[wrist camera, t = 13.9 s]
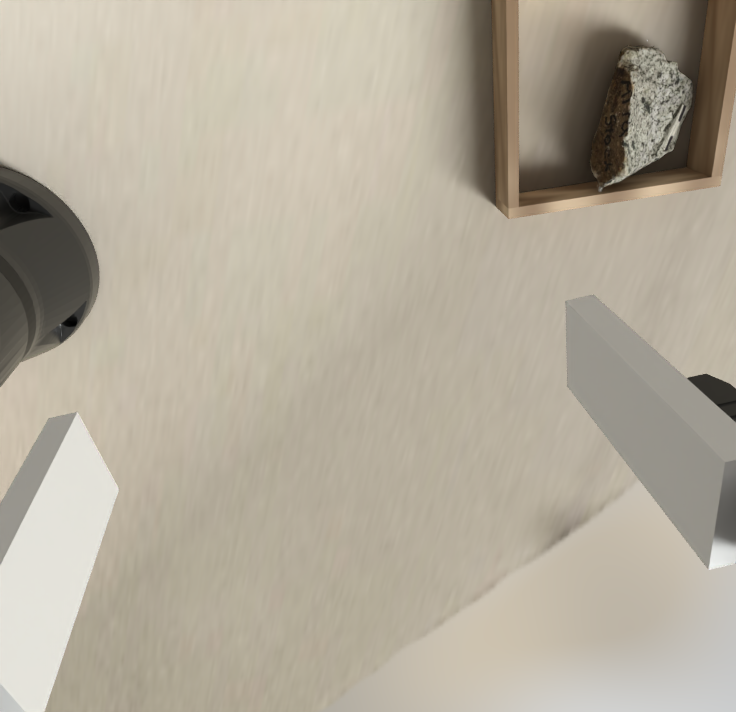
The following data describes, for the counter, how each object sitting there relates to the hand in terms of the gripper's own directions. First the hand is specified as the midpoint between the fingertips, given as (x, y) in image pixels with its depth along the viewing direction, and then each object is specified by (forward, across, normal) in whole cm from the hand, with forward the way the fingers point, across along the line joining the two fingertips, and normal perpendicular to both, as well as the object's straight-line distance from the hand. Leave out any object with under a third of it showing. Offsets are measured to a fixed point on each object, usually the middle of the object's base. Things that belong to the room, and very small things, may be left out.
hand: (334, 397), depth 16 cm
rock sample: (+34, +26, -2) cm, 42 cm away
